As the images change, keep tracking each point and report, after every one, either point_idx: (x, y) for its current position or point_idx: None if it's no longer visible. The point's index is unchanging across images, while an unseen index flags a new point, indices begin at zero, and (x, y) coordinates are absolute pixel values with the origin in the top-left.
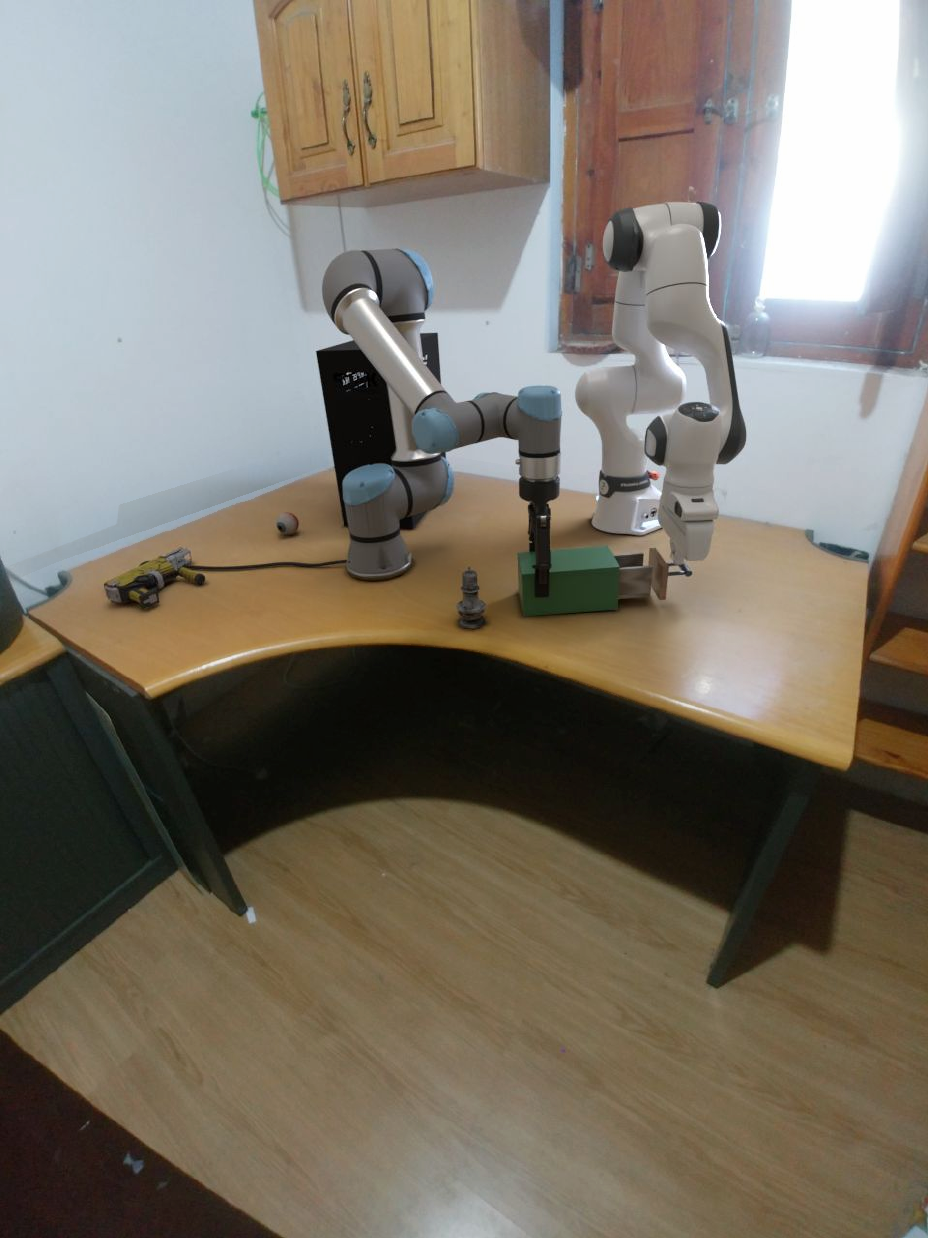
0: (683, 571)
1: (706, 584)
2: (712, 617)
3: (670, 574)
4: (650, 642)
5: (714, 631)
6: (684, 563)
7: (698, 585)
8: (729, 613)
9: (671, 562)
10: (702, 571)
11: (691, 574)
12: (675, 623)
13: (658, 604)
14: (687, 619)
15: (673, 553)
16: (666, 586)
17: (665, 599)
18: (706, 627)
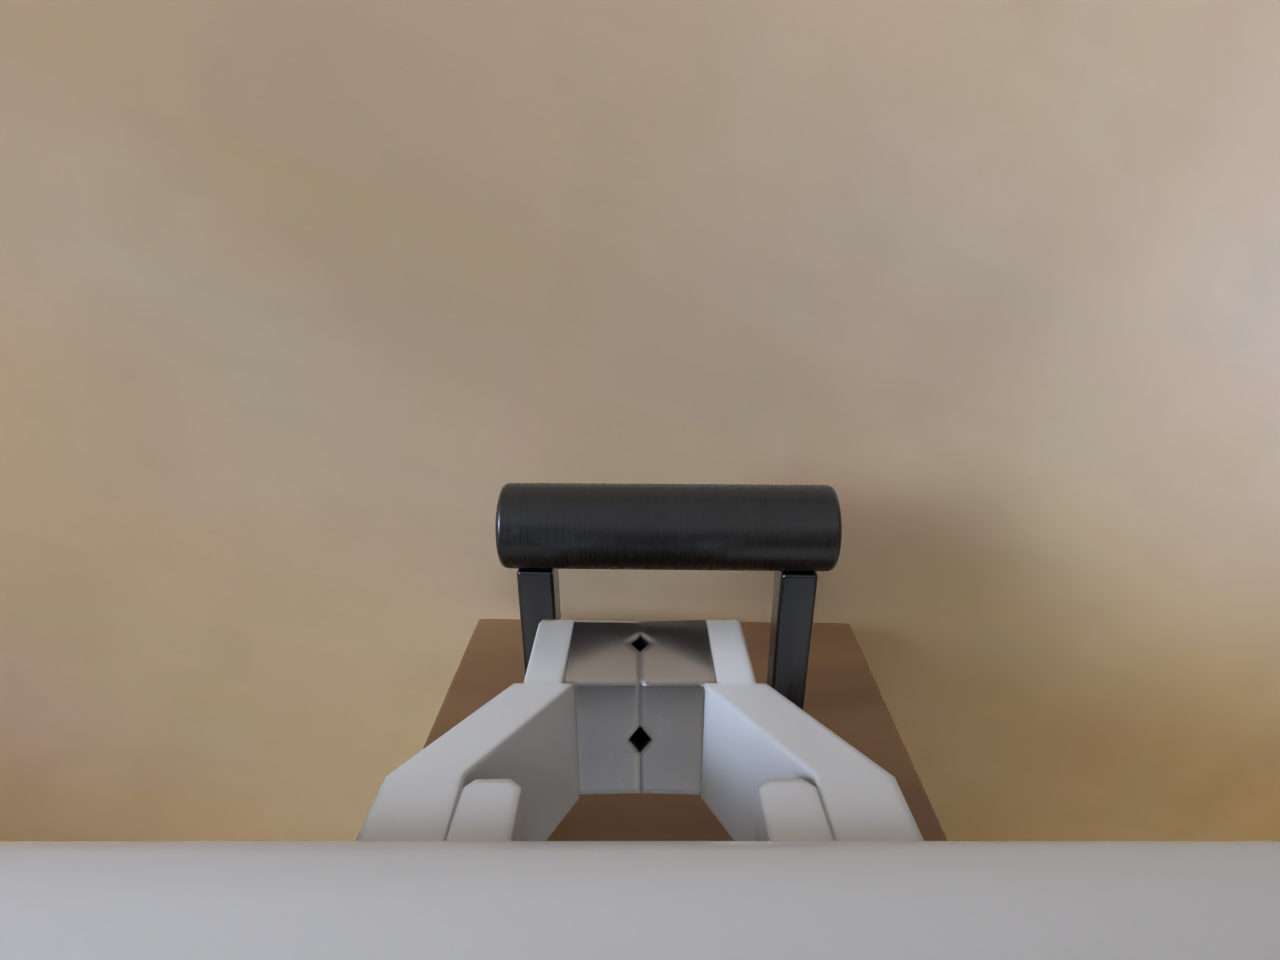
0: (797, 586)
1: (451, 107)
2: (1055, 284)
3: (803, 706)
4: (1220, 770)
5: (1258, 348)
6: (624, 536)
7: (470, 195)
8: (1034, 103)
9: (528, 633)
10: (153, 38)
11: (829, 490)
12: (1055, 576)
13: (766, 607)
14: (1027, 482)
15: (630, 787)
16: (884, 707)
17: (849, 626)
18: (1182, 387)
